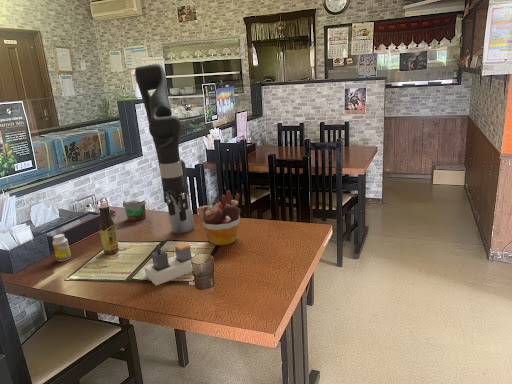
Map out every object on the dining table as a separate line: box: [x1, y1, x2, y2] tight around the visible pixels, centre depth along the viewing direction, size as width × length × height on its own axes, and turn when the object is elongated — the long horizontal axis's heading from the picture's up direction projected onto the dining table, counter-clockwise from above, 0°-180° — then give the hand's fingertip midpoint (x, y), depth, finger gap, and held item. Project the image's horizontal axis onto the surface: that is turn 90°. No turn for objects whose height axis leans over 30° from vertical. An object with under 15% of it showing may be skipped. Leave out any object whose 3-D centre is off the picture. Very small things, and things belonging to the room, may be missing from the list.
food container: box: [122, 199, 147, 223], centre depth 200 cm, size 12×6×10 cm, turn 81°
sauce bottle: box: [98, 204, 119, 255], centre depth 162 cm, size 7×6×20 cm
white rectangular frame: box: [144, 244, 196, 287], centre depth 140 cm, size 18×9×12 cm, turn 127°
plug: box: [174, 242, 192, 263], centre depth 143 cm, size 4×4×8 cm
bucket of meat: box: [196, 189, 241, 247], centre depth 165 cm, size 20×16×20 cm
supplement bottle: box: [52, 233, 72, 262], centre depth 159 cm, size 6×6×10 cm
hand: (177, 217), depth 142 cm, fingers open, 8 cm apart
